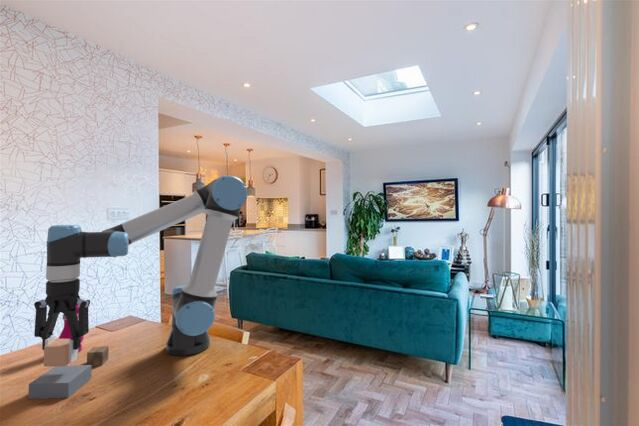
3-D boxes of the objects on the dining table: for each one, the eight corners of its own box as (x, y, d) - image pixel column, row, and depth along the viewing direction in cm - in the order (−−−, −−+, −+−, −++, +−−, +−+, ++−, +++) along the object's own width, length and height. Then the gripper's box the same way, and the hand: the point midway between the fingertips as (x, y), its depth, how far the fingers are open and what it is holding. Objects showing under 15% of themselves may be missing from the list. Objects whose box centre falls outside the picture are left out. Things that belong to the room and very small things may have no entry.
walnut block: (93, 360, 108) (108, 359, 109) (86, 366, 103) (102, 365, 104) (93, 346, 108) (108, 346, 109) (87, 352, 103) (102, 351, 104)
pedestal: (91, 378, 96) (91, 364, 96) (68, 397, 86) (68, 382, 86) (55, 379, 95) (56, 365, 95) (28, 398, 85) (28, 383, 85)
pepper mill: (55, 357, 109) (56, 299, 109) (60, 349, 115) (61, 294, 115) (81, 353, 112) (82, 297, 112) (85, 346, 118) (86, 292, 118)
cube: (78, 357, 94) (78, 338, 94) (64, 366, 88) (65, 346, 88) (58, 357, 93) (58, 338, 93) (43, 366, 88) (44, 346, 88)
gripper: (105, 276, 95) (103, 354, 95) (38, 276, 94) (36, 355, 94) (89, 282, 88) (87, 366, 88) (16, 281, 86) (14, 367, 86)
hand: (61, 360), depth 91 cm, fingers closed on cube, 5 cm apart
